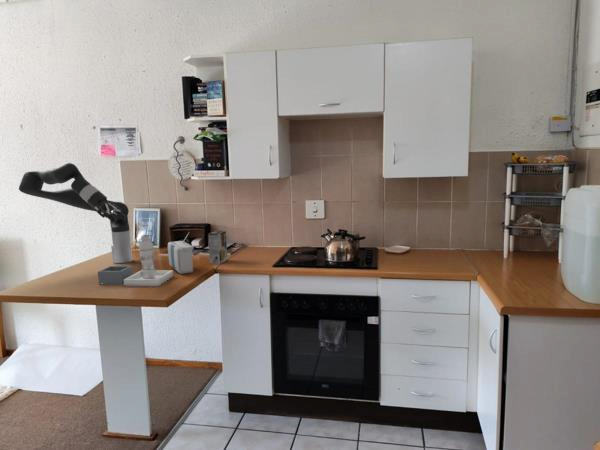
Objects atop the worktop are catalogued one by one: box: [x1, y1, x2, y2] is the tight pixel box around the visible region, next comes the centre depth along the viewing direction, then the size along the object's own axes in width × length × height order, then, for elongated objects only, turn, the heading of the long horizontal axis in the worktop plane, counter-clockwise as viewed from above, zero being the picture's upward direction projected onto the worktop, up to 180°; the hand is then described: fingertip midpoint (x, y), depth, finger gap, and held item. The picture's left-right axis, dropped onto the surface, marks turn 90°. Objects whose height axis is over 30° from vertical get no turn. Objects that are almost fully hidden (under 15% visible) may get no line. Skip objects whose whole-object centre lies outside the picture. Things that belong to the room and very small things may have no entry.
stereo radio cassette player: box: [167, 231, 194, 275], centre depth 214 cm, size 21×8×20 cm, turn 29°
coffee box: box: [207, 230, 228, 265], centre depth 230 cm, size 9×6×16 cm
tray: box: [123, 269, 174, 287], centre depth 195 cm, size 16×16×3 cm
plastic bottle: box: [138, 234, 156, 279], centre depth 194 cm, size 6×7×20 cm
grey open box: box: [97, 265, 134, 285], centre depth 197 cm, size 11×10×6 cm
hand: (120, 220), depth 197 cm, fingers open, 8 cm apart
